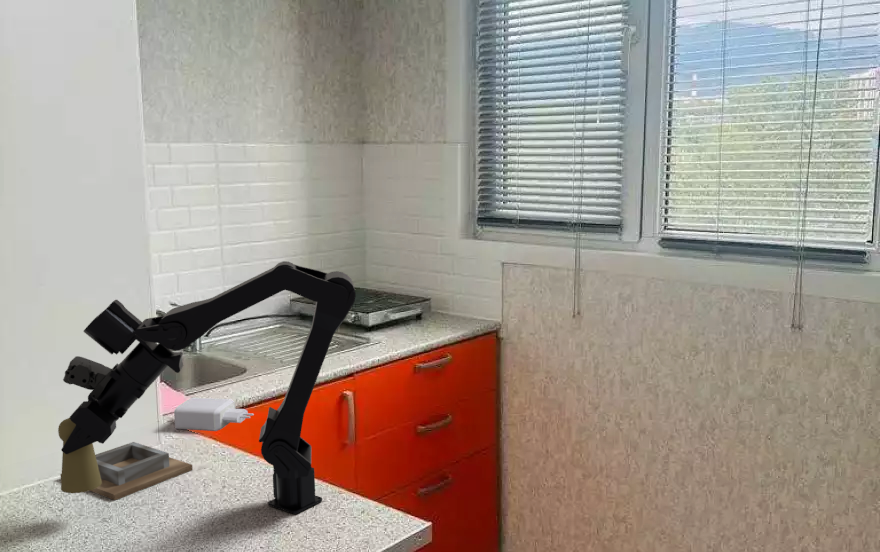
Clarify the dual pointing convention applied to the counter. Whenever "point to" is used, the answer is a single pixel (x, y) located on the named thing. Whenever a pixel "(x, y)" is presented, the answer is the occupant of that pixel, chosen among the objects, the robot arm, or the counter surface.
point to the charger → (208, 414)
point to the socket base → (135, 469)
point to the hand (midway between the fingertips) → (68, 446)
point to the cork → (78, 464)
